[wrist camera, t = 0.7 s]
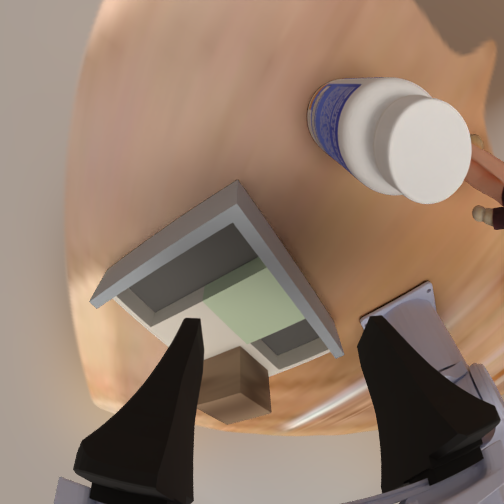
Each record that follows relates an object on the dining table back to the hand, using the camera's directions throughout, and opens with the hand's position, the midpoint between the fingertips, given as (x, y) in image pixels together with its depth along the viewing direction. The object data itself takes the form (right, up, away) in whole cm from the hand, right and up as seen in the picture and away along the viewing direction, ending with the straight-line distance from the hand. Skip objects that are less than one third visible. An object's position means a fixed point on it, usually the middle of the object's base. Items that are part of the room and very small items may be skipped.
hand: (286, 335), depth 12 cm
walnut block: (-3, -7, +14) cm, 16 cm away
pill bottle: (+5, +12, +5) cm, 14 cm away
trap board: (-3, -1, +13) cm, 13 cm away
